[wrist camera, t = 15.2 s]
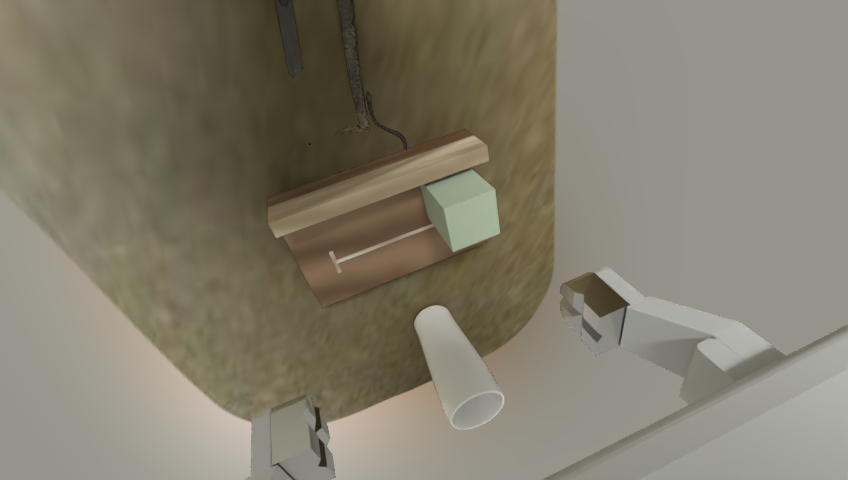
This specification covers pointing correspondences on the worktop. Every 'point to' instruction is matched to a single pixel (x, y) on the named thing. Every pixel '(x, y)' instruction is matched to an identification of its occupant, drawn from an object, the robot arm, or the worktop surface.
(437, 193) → the block
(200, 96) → the worktop surface
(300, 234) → the walnut board
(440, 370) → the drinking glass
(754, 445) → the robot arm
